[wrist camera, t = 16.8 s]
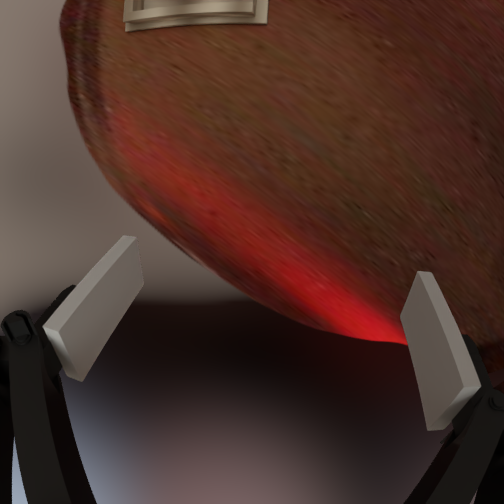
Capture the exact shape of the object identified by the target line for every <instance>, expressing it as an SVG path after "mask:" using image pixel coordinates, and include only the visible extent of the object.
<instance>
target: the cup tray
mask: <svg viewBox="0 0 504 504" xmlns="http://www.w3.org/2000/svg"><path fill="white" fill-rule="evenodd" d="M268 6H269V0H125V4H124V18H123V22H126V29H125V31H127V32H132V31H138V30H145V29H153V28H162V27H172V26H184V25H201V24H267V22H268Z"/></svg>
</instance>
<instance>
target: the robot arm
mask: <svg viewBox="0 0 504 504" xmlns="http://www.w3.org/2000/svg"><path fill="white" fill-rule="evenodd" d="M143 285H144V280H143V273H142V267H141V261H140V254H139V247H138V240H137V237H133V236H125V235H124V236H122V237H121V239H119V241H118V242H117V243H116V244H115V245H114V246H113V247H112V248H111V249H110V250H109V251H108V252H107V253H106V254H105V255H104V256H103V257H102V259H101V260H100V261H99V262H98V263H97V264H96V265H95V266H94V267H93V269H91V271H90V272H89V273H88V274H87V275H86V276H85V277H84V278H83V279H82V281H81V282H80V283H79V284H78V285H77V286H75V285H71V286H70V287H68V288H66V289H65V290H63V291H62V292H61V293H60V295H59V296H58V297H57V298H56V300H54V301H53V303H52V304H51V306H49V307H48V309H46V311H45V312H44V313H43V314H42V315H41V317H40V318H39V319H38V320H37V321H36V323H35V324H33V322H32V319H31V317H30V315H29V313H27V312H26V311H23V310H18V311H14V312H12V313H10V314H9V315H7V316H6V317H5V318H4V319H3V321H2V323H1V328H2V330H3V332H4V334H5V335H6V336H0V504H12V460H13V459H12V458H13V443H14V437H15V444H16V450H17V455H18V461H19V467H20V472H21V477H22V481H23V486H24V490H25V494H26V498H27V501H28V504H97V503H96V500H95V498H94V495H93V493H92V490H91V487H90V485H89V482H88V479H87V476H86V473H85V470H84V467H83V464H82V461H81V458H80V455H79V451H78V448H77V445H76V441H75V438H74V434H73V430H72V427H71V423H70V419H69V414H68V410H67V406H66V401H65V397H64V392H63V387H62V382H61V378H60V376H59V371H60V370H61V368H62V367H63V369H64V371H65V373H66V375H67V376H68V377H71V378H74V379H76V380H79V381H83V380H84V378H85V376H86V375H87V373H88V371H89V370H90V368H91V366H92V364H93V363H94V361H95V360H96V358H97V356H98V355H99V353H100V351H101V350H102V348H103V347H104V345H105V343H106V342H107V340H108V339H109V337H110V336H111V334H112V332H113V331H114V329H115V328H116V326H117V324H118V323H119V321H120V320H121V318H122V317H123V315H124V314H125V312H126V310H127V309H128V307H129V306H130V304H131V303H132V301H133V300H134V298H135V297H136V295H137V294H138V292H139V291H140V289H141V288H142V286H143ZM400 318H401V322H402V325H403V329H404V332H405V336H406V339H407V343H408V346H409V350H410V354H411V358H412V362H413V366H414V369H415V374H416V378H417V382H418V387H419V390H420V395H421V400H422V405H423V410H424V414H425V420H426V425H427V430H428V431H429V430H442V429H445V428H446V426H447V425H448V424H449V423H450V422H451V421H452V424H453V428H454V429H453V430H452V431H451V432H450V433H449V434H448V435H447V436H446V437H445V438H444V439H443V440H442V441H441V442H440V443H441V444H442V443H443V442H444V444H443V445H442V447H441V449H440V450H439V452H438V454H437V455H436V457H435V459H434V460H433V462H432V463H431V465H430V466H429V468H428V470H427V471H426V473H425V474H424V476H423V477H422V478H421V480H420V482H419V483H418V484H417V486H416V487H415V488H414V490H413V491H412V493H411V494H410V496H409V497H408V498H407V499H406V501H405V502H404V504H470V502H471V500H472V498H473V496H474V495H475V493H476V491H477V493H476V497H475V501H474V504H504V394H503V393H501V392H500V391H498V390H494V389H493V386H492V384H491V381H490V379H489V376H488V373H487V371H486V368H485V366H484V363H482V359H481V356H480V355H479V351H478V349H477V347H476V345H475V343H474V342H473V340H472V339H471V338H470V337H469V336H468V335H462V334H461V333H460V331H459V329H458V326H457V324H456V322H455V320H454V318H453V315H452V313H451V311H450V309H449V307H448V305H447V303H446V300H445V298H444V296H443V294H442V292H441V290H440V288H439V286H438V284H437V282H436V280H435V278H434V276H433V275H432V273H431V272H422V271H417V274H416V277H415V279H414V282H413V285H412V287H411V290H410V293H409V295H408V298H407V300H406V303H405V305H404V308H403V310H402V313H401V315H400ZM477 489H478V490H477Z"/></svg>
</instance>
